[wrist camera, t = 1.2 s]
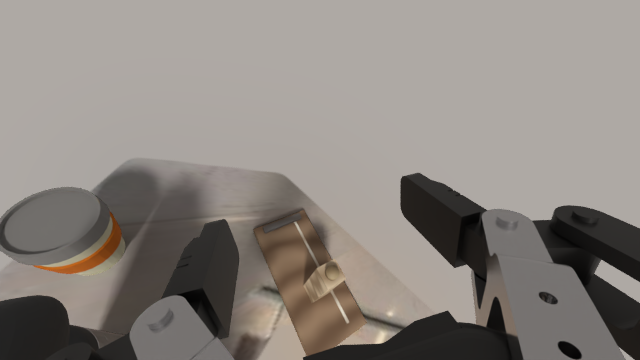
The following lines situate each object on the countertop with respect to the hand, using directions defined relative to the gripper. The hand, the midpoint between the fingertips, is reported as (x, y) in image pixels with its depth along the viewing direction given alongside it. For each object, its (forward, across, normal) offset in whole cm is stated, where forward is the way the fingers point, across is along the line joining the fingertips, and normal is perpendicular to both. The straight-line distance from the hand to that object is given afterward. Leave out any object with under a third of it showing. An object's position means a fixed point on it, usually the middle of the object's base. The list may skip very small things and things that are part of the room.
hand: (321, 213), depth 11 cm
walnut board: (+32, -2, -37) cm, 49 cm away
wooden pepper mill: (+28, -1, -38) cm, 48 cm away
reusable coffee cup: (+37, -42, -22) cm, 60 cm away
